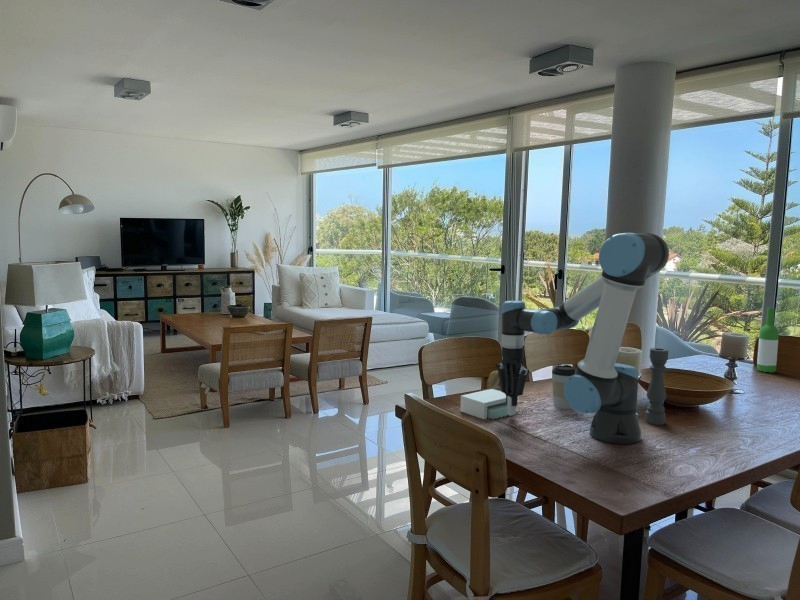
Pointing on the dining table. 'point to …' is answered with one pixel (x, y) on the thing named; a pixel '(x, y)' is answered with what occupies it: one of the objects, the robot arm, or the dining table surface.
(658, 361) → the candle holder
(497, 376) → the stone disc
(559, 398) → the coffee cup
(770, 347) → the wine bottle
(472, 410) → the low shelf
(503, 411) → the mint green flat box
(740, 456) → the dining table surface
